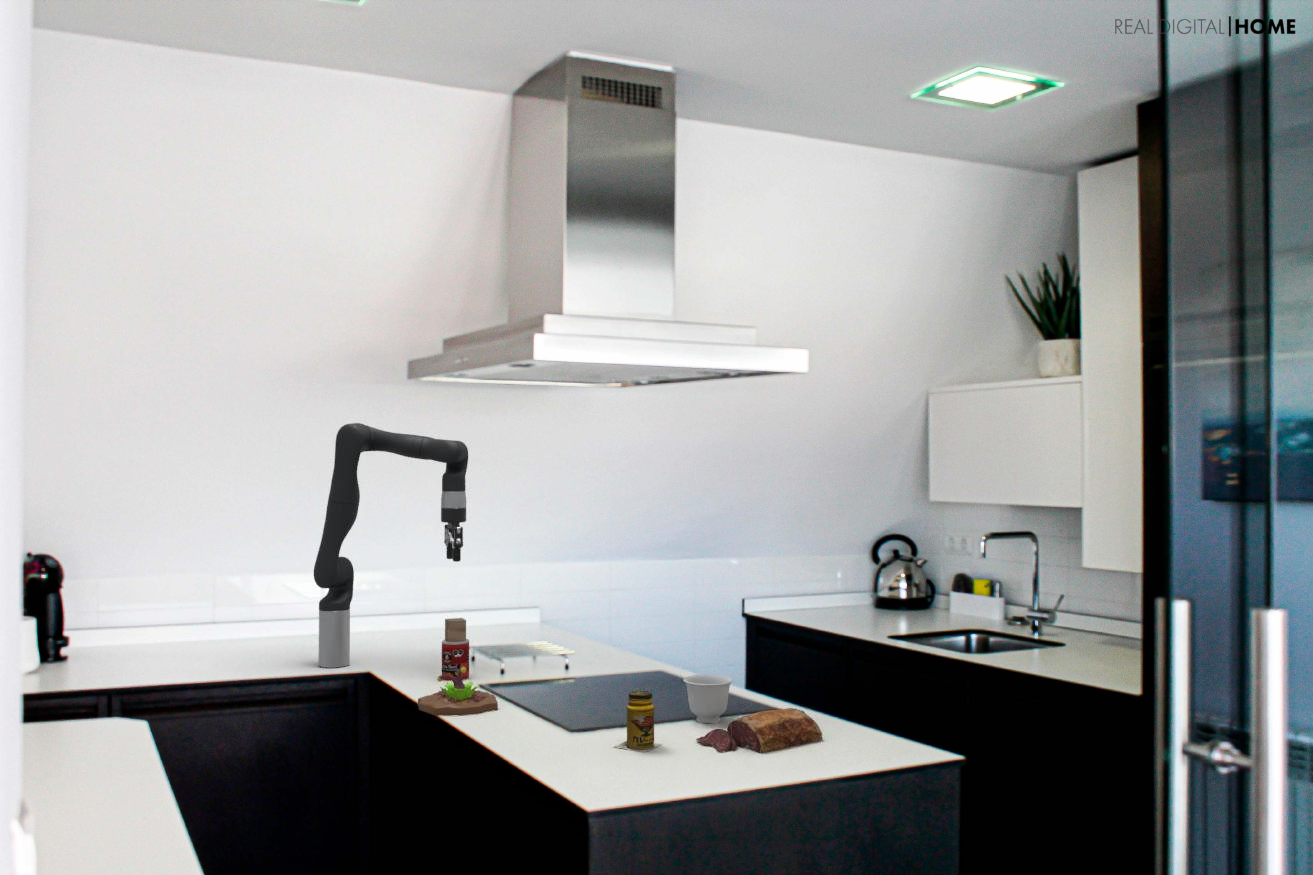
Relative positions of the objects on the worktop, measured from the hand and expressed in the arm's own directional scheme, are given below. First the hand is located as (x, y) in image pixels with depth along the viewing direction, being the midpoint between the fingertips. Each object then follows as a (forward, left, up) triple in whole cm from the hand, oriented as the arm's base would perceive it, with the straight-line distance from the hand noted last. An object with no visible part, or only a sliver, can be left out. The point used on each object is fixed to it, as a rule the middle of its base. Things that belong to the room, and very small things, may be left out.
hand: (453, 560), depth 332 cm
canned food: (+12, -2, -33) cm, 35 cm away
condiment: (+103, +18, -33) cm, 110 cm away
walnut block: (+12, -2, -22) cm, 25 cm away
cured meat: (+110, +44, -34) cm, 123 cm away
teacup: (+86, +43, -33) cm, 102 cm away
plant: (+49, -9, -34) cm, 60 cm away
